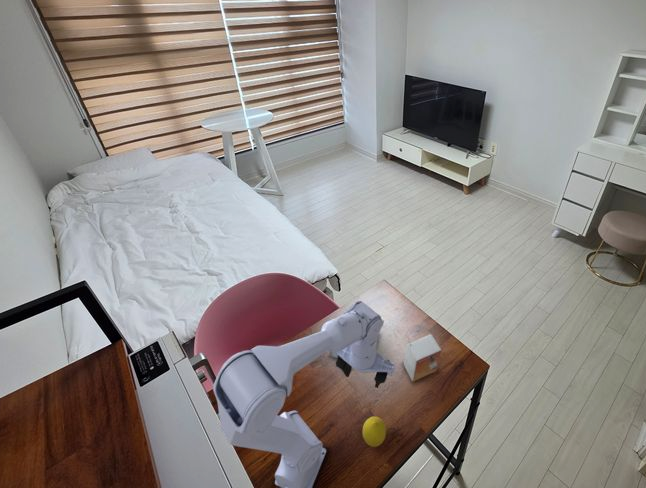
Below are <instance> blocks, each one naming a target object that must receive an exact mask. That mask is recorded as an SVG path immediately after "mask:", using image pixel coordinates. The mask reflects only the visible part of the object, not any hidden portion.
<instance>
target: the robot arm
mask: <svg viewBox="0 0 646 488" xmlns="http://www.w3.org/2000/svg"><path fill="white" fill-rule="evenodd" d="M384 322H385V320H383V319H382V316H381V315H380V314H379V313H377V312H376V311H375V310H374V309H372V308H371V307H370V306H369V305H368V304H366V303H365V302H363V301H361V300H358V301H355V302H354V303H352V304H351V305H350V306H349V307H348V309H346V310H345V311H344V312H343V314H342V315H339V316H336V317H335V318H333V319H330V320H328V321H326V322H324V323H323V325H322V327H321V329H320V331H318V332H315V333H313V334H310V335H307V336H304V337H301V338H299V339H296V340H292V341H290V342H287V343H284V344H282V345H278V346H273V345H256V346H255V347H253V348H251V349H250V350H248V349H247V350H242V351H240V352H237V353H235V354H233V355H231V356H230V357H229V358H228V359H226V361H225V362H224V363H223V364H222V366H221V368H220V369H219V370H218V373H217V375H216V378H215V381H214V383H213V385H212V390H213V394H214V396H215V398H216V402H217V410H218V417H219V426H220V430H221V431H222V433H223V434H224V436H225V438H226V439H227V441H228V443H229V445H230V446H234V447H239V448H246V449H251V450H256V451H257V450H258V451H263V452H269V453H275V454H281V457H280V462H279V465H278V467H277V469H276V471H275V473H274V479H275V481H274V484H275V485H276V486H277V487H279V488H313V487H314V483H315V481H316V479H317V476H318V474H319V471H320V469H321V466H322V463H323V461H324V459H325V456H326V453H327V449H326V448H325V447H323V446H324V444H323V442H322V440H320V439H319V438H318V437H317V436H316V435H315V433H314V432H313V431H312V429H311V428H310V427H309V425H307V423H306V422H305V420H304V419H303V418H302V417H301V415H300V414H299V412H298V410H291V411H283V412H282V413H281V414H280V415H278V414H279V413H280V411H281V410H282V409H283V407H284V404H285V401H286V399H287V397H290V395H291V393H292V390H293V381H294V376H295V374H296V373H298V372H299V371H301V370H302V369H304V368H305V367H306V366H308V365H309V364H311V363H312V362H314V361H315V360H317V359H318V358H319V357H321V356H322V355H324V354H326V353H327V352H329V353H330V352H333V356H335V357H338V358H336V361H335V367H337V368H338V369H339V370H341V371H342V372H343V374H344V376H345V377H346V378H349V377H350V375H351V372H352V370H353V369H354V370H355V371H356V372H360V373H375V376H374V379H373V381H374V388H376V389H379V386H380V385H381V384H385V383H386V380H387V377H388V376H390V377H393V373H394V370H395V365H396V364H395V363H393V362H391V361H390V359H388V358H385V357H384V356H383V355H381V354H380V353H379V352H378V351H377V342H378V340H377V339H379V337H380V333H381V330H382V328H383V325H384ZM378 336H379V337H378ZM350 345H351V346H350ZM335 357H334V358H335Z"/></svg>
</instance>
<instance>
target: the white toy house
mask: <svg viewBox="0 0 646 488" xmlns="http://www.w3.org/2000/svg"><path fill="white" fill-rule="evenodd" d="M441 354H442V349H441V347H440V346H439V344H438V342H437V340H436V339H435V338H434V336H433V334H432V333H429V334H427V335H424V336H422V337H420V338H418V339H415V340H412V341H409V342H407V343H406V345H405V353H404V360H403V366H404V368H405V370H406V372H407V374H408V376H409V378H410V379H411V380H410V381H412V383H413V382H416V381H418V380H420V379H422V378H425V377H426V376H428V375H431V374H433V373H436V372H437V370H438V365H439V362H440V358H441Z"/></svg>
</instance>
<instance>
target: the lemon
mask: <svg viewBox="0 0 646 488" xmlns="http://www.w3.org/2000/svg"><path fill="white" fill-rule="evenodd" d="M386 435H387V428H386V424H385V422H384V421H383V419H381V418H380V417H378V416H370V417H368V418H367V419H366V420H365V422H364V424H363V427H362V438H363V440H364V442H365V443H366V444H367V446H369V447H372V448H376V447H379V446H381V445H382V444H383V443H384V441H385V440H386Z"/></svg>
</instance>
